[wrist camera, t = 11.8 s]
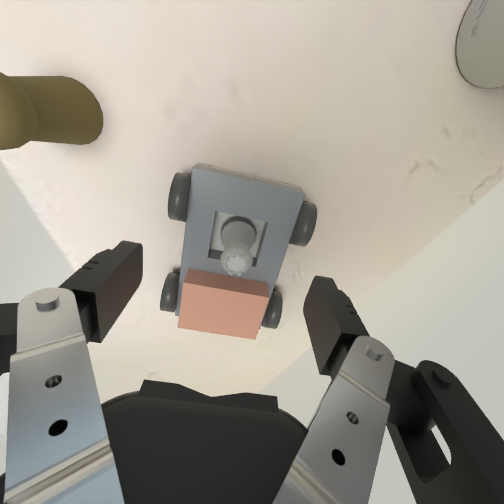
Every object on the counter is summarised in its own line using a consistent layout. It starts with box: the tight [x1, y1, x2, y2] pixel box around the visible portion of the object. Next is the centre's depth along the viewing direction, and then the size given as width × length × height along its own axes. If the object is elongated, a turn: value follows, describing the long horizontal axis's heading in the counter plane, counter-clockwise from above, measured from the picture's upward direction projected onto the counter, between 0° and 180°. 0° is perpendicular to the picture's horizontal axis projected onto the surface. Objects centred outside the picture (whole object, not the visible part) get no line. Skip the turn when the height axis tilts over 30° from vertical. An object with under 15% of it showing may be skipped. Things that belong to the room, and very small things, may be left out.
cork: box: [0, 72, 103, 150], centre depth 20 cm, size 6×6×11 cm
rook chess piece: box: [220, 216, 257, 276], centre depth 28 cm, size 4×4×8 cm
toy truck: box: [160, 163, 317, 339], centre depth 30 cm, size 15×20×6 cm
